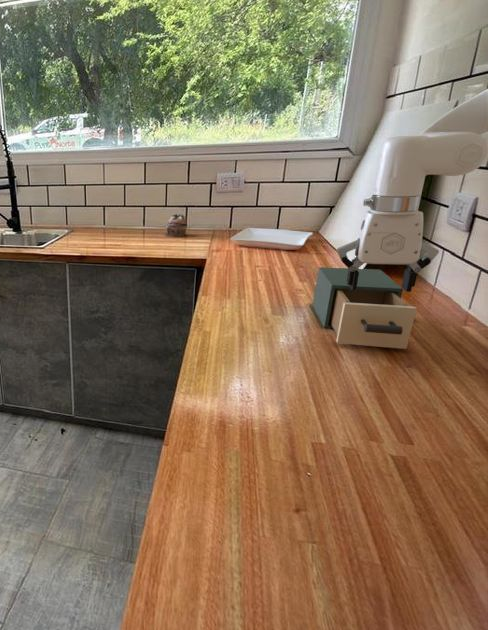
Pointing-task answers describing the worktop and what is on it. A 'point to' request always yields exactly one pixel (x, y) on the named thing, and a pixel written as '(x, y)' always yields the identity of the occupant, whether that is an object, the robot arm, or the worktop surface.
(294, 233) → the square plate
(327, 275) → the cabinet
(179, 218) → the cupcake
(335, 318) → the drawer
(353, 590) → the worktop surface
